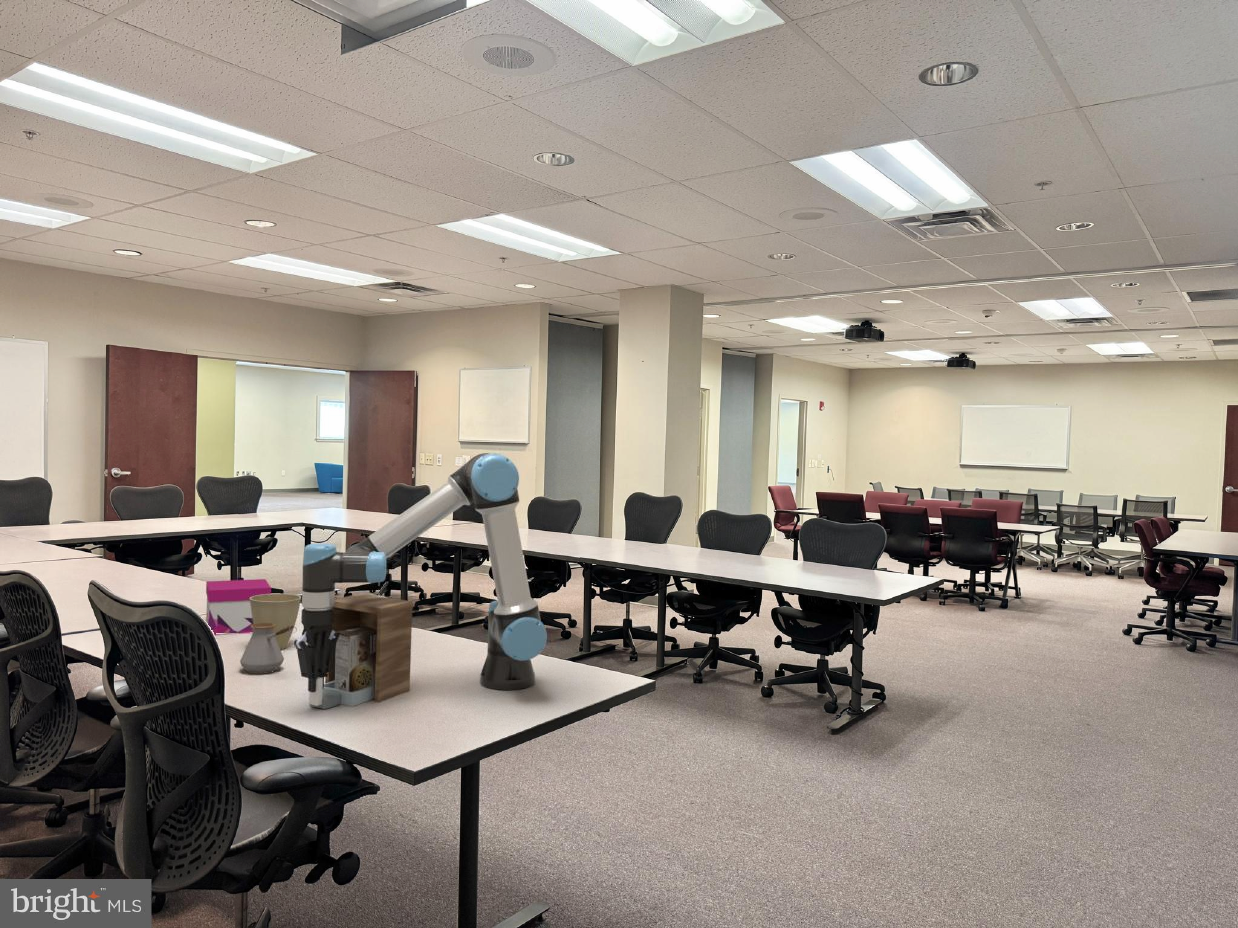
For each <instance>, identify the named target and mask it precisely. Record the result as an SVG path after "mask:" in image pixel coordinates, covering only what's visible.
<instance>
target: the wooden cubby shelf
mask: <svg viewBox="0 0 1238 928" xmlns="http://www.w3.org/2000/svg"><path fill="white" fill-rule="evenodd" d="M385 597H386V596H384V597H378V595H369V594H362V593H359V594H354V595H353V594H352V595H348V596H343V597H339V598H335V605H334V606H333V607H332V608H333V609H334V622H333V623H332V624H331V625H332V628H333V631H335V632H337V631H342V630H347V629H352V628H357V627H363V626H366V627H370V628H373V629H376V630H377V644H376V677H375V698H374V702H375V703H380V702H383V701H386V700H390V699H392V698H394V697H397V696H400V695H402V694H405V693H409V692H410V691H411V661H412V660H411V659H412V656H411V655H412V631H413V630H412V628H413V625H412V623H413V601H411V600H405V599H398V598H392V597H391V598H390V597H387V598H385ZM335 655H336V648H335V653H334V658H333V663H332V668H331V672H328V673H326V674H328V676H327V677H324V684H325V683H328V682H331V681H334V680H335ZM326 667H327V666H326Z"/></svg>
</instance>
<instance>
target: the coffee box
mask: <svg viewBox="0 0 1238 928" xmlns="http://www.w3.org/2000/svg"><path fill="white" fill-rule="evenodd" d="M337 632H339V633H340V636H339V638H338V640H337V643H336V655H335V689H338V690H343V691H348V692H355V691H358V690H361V689H364V688H367V687H370V686H373V685H375V677H376V644H377V630H376V629H373V628H370V627H366V626H363V627H357V628H352V629H347V630H342V631H337Z"/></svg>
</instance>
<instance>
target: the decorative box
mask: <svg viewBox="0 0 1238 928" xmlns="http://www.w3.org/2000/svg"><path fill="white" fill-rule="evenodd" d="M205 585H206V586H205V587H206V589H205V594H206V621H207V623H208V625H209V626H210V627H211V630H213V632H214V634H215V635H214V636H217V635H216V633H239V634H248V633H249V634H251V633H250V632H253V630H252V628H251V625H253V624H254V623H253V619H252V613H251V605H250V597H252V596H256V595H262V594H272V587H271V584H269V582H268V581H267V580H266V579H265V578H262V579H261V578H260V579H238V580H237V579H236V580H235V579H234V580H210V581H209V580H208V581H206V584H205ZM206 621H205V622H206Z"/></svg>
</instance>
